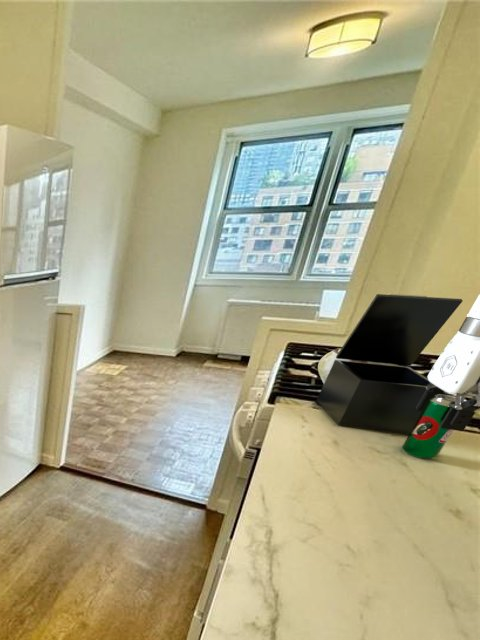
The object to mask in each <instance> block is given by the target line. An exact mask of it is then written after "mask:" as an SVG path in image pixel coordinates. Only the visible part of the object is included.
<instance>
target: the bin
mask: <svg viewBox="0 0 480 640" xmlns="http://www.w3.org/2000/svg"><path fill="white" fill-rule="evenodd" d="M428 384H430V381H429V380H428V378H427V376H425V375H423V374H422V373H420V372H418V371H417V370H416V369H413V368H412V367H410V366H406V365H397V366H395V365H385V364H375V363H365V362H355V361H345V360H335V361H334V363H333V365H332V368H331V370H330V372H329V374H328V376H327V379H326V381H325V383H323V385H322V387H321V389H320V392H319V394H318V396H317V398H316V400H315V402H316V403H317V405H319V406H320V407H321V409H322V410H323V411H324V412H325V413H326V414H327V415H328V416H329V417H330V418H331V419H332V421H334V422H335V424H336V425H337V426H338V427H345V428H346V427H347V428H352V429H353V428H354V429H359V430H367V431H375V432H383V433H391V434H398V435H404V436H406V435H407V436H408V435H409V434H410V432H411V430H412V428H413V427H414V425H415V423H416V422H417V420H418V418H419V416H420V415H421V413H422V411H419V410H417V409H416V407H417V405H418V403H419V402H420V400H421V398H422V396H423V395H424V393H425V391H427V390H426V386H427V385H428Z"/></svg>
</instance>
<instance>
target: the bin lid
mask: <svg viewBox="0 0 480 640" xmlns="http://www.w3.org/2000/svg"><path fill="white" fill-rule="evenodd" d="M463 301H464V300H463V299H462V298H453V297H435V296H427V295H417V294H399V293H398V294H397V293H389V294H382V293H381V294H380V293H377V294H375V297H374V298H373V299H372V301H371V302H370V304H369V305H368V307H367V309H366V310H365V311H364V313H363V315H362V316H361V318H360V319H359V321H358V322H357V324H356V325H355V327H354V328H353V330H352V331H351V333H349V336H348V337H347V339H346V340H345V342H344V344H343V345H342V347H340V348H341V350H340V351H339V353H338V354H337V356H336V358H337V359H346V360H357V361H367V362H377V363H387V364H397V366H407V367H410V366H412V365H413V364H414V362H416V360H417V359H418V357H419V356H420V355H421V353H422V352H423V351H424V350H425V349H426V347H428V345H429V344H430V342H431V341H432V340H433V339H434V338H435V336H436V335H437V334H438V332H439V331H440V330H441V329H442V328H443V326H444V325H445V324H446V323H447V321H448V320H449V319H450V317H452V315H453V314H454V313H455V311H456V310H457V309H458V308H459V307H460V305H461V304H462V303H463Z"/></svg>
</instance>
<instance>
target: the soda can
mask: <svg viewBox="0 0 480 640" xmlns="http://www.w3.org/2000/svg"><path fill="white" fill-rule="evenodd" d="M466 401H468V400H467V399H465V400H464V402H466ZM455 402H456V395H453V394H448V395H445V394H436V395H435V396H434V397H433V398H431V399H429V401H428V402H427V404H426V406H425V408H424V409H423V411H422V413H421V415H420V416H419V418H418V420H417V422H416V423H415V425H414V427H413V428H412V430H411V432H410V434H409V435H407V437H406V439H405V440H404V443H403V444H402V446H401V448H402V451H403V452H404V453H405V454H407V455H410V456H412V457H415V458H417V459H425V460H431V459H434V458H437V457H438V456H439V454H440V453H441V451H442V449H443V448H444V447H445V444H446V443H447V442H448V440H449V438H450V436H452V434H453V432H454V430H450V429H443V428H441V427H440V424H441V423H442V421H443V419H444V418H445V416H446V415H447V413H448V411H449V410H450V408H451V407H452V408H455Z"/></svg>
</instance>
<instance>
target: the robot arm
mask: <svg viewBox="0 0 480 640" xmlns="http://www.w3.org/2000/svg"><path fill="white" fill-rule="evenodd" d="M426 378H428V380H429V381H430V384H428V385H427V386H426V390H427V391H425V393H424V395H423V396H422V398H421V400H420V402H419V403H418V405H417V407H416V409H417V410H419V411H423V409H424V408H425V406H426V404H427V402H428V401H429V399H431V398H433V397H434V396H435V395H436V394H445V395H452V396H456V402H455V408H452V407H451V408H450V410H449V411H448V413H447V415H446V416H445V418H444V419H443V421H442V423H441V424H440V427H441V428H443V429H450V430H453V431H457V432H458V431H459V432H463V431H465V430H466V428H467V427H468V425H469V423H470V422H471V421H472V419H473V418H474V416H475V414H476V413H479V412H480V293H479V295H478V296H477V297H476V300H475V301H474V303H473V305H472V306H471V308H470V309H469V312H468V314H467V315H466V317H465V318H464V320H463V322H462V324H461V326H460V328H459V329H458V331H457V332H456V333H455V335H454V336H453V337H452V338H451V340H450V341H449V342H448V343H447V345H446V346H445V348H444V349H443V351H442V352H441V353H440V355H439V357H438V358H437V359H436V361H435V362H434V364H433V365H432V367H431V369H430V371H429V373H428V374H427V376H426ZM466 398H467V399H468V400H467V401H466V402H464V400H466Z"/></svg>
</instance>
